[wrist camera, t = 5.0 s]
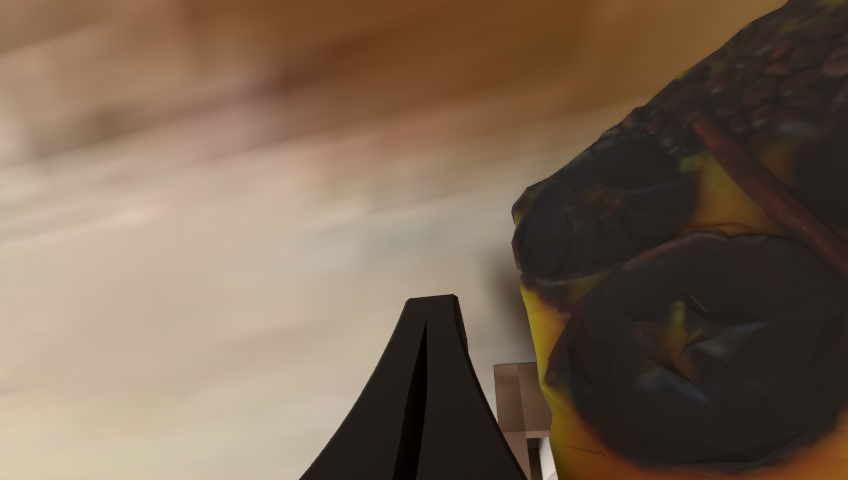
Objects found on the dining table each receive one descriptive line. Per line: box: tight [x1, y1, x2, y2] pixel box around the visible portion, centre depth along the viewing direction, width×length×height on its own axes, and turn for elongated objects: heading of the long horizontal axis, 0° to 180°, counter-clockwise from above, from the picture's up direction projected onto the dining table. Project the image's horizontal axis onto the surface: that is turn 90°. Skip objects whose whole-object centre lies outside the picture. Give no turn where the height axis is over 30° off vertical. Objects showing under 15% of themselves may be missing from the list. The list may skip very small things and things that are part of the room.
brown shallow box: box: [494, 363, 553, 480], centre depth 19 cm, size 16×8×3 cm, turn 101°
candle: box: [511, 0, 848, 480], centre depth 10 cm, size 10×10×10 cm
